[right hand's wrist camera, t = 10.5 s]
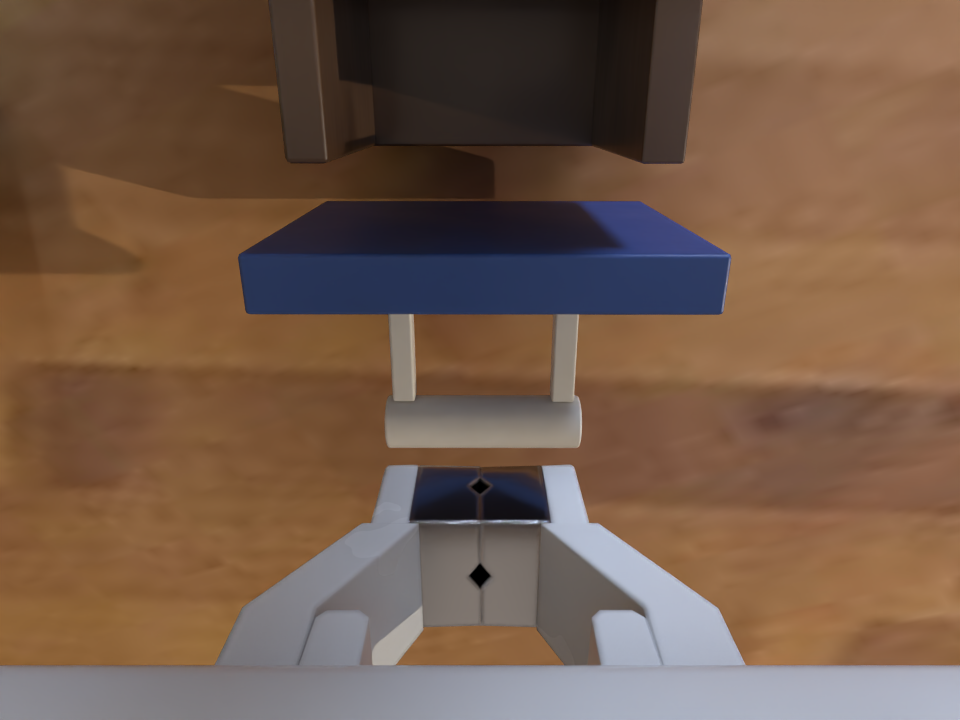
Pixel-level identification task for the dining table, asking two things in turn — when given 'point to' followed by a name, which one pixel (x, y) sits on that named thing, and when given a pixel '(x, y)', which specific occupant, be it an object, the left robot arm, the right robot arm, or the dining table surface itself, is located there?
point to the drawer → (485, 224)
